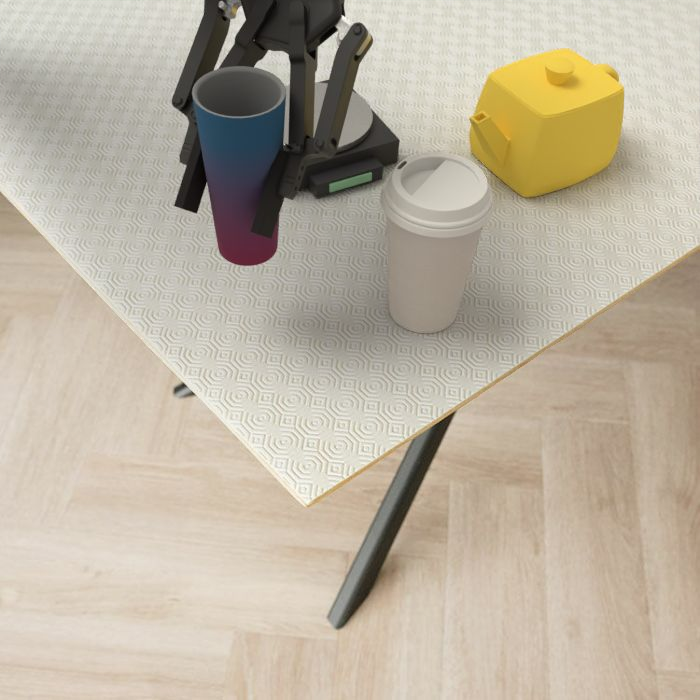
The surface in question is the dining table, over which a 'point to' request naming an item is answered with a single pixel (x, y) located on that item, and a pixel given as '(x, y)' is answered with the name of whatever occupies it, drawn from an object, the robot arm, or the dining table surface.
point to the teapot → (548, 121)
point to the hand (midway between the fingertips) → (223, 221)
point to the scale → (353, 162)
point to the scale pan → (355, 121)
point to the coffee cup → (432, 236)
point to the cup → (239, 153)
